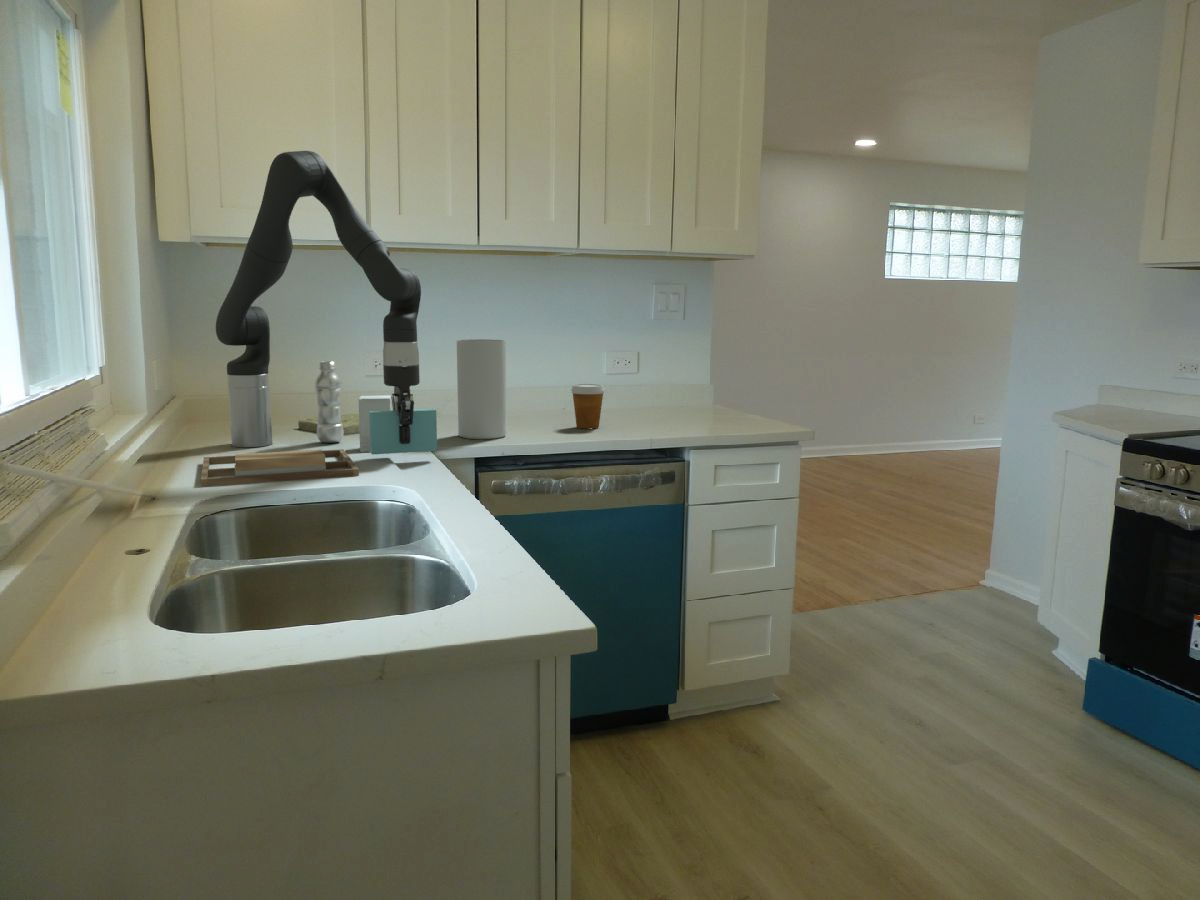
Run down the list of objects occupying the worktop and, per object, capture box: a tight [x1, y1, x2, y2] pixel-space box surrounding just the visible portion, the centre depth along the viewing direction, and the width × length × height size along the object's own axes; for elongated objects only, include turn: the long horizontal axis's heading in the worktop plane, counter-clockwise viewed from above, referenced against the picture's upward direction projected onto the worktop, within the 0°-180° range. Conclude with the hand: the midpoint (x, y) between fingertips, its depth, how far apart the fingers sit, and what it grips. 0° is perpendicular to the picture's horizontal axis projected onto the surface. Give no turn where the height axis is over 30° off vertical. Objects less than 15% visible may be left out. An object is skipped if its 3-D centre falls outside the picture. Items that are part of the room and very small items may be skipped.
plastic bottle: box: [314, 360, 344, 444], centre depth 211 cm, size 6×7×20 cm
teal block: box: [369, 408, 438, 455], centre depth 186 cm, size 2×14×9 cm, turn 113°
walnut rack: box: [200, 448, 360, 488], centre depth 172 cm, size 24×28×2 cm
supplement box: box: [357, 394, 392, 453], centre depth 202 cm, size 7×7×13 cm
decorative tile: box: [297, 413, 360, 437], centre depth 236 cm, size 18×20×4 cm
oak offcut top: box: [234, 449, 326, 471], centre depth 166 cm, size 7×16×2 cm, turn 113°
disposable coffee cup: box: [570, 383, 606, 429], centre depth 241 cm, size 10×10×12 cm
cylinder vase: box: [456, 338, 507, 440], centre depth 223 cm, size 12×12×25 cm
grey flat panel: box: [234, 464, 327, 476], centre depth 166 cm, size 7×16×2 cm, turn 115°
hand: (403, 442), depth 187 cm, fingers closed on teal block, 2 cm apart
